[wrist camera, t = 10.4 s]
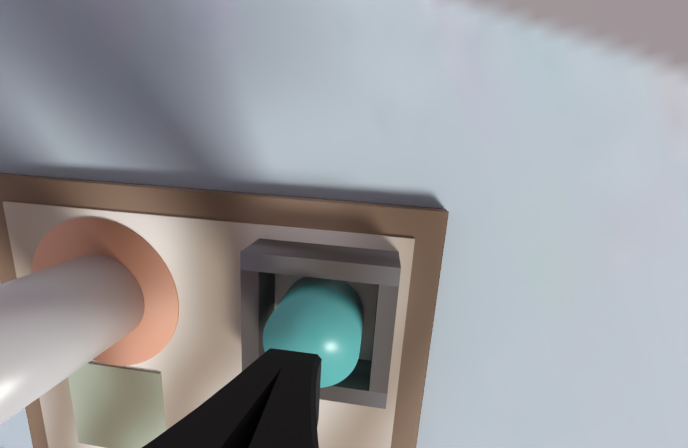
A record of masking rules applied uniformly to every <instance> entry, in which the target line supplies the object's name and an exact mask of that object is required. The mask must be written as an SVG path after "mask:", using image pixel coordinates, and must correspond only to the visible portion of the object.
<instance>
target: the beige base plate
mask: <svg viewBox="0 0 688 448" xmlns="http://www.w3.org/2000/svg"><path fill="white" fill-rule="evenodd" d="M448 213H449V212H448V211H447V210H446V209H439V208H427V207H414V206H402V205H389V204H377V203H364V202H352V201H339V200H327V199H315V198H302V197H290V196H277V195H265V194H252V193H240V192H227V191H215V190H202V189H190V188H177V187H165V186H152V185H140V184H127V183H115V182H103V181H90V180H78V179H65V178H53V177H40V176H28V175H15V174H3V173H0V284H3V283H6V282H8V281H11V280H14V279H17V278H20V277H23V276H26V275H29V274H32V273H35V272H37V271H40V270H43V269H46V268H49V267H52V266H55V265H58V264H61V263H64V262H66V261H69V260H72V259H75V258H78V257H81V256H84V255H89V254H99V255H104V256H108V257H110V258H113V259H115V260H116V261H118V262H120V263H121V264H123V265H124V266H125V267H126V268H127V269H128V270H129V271H130V272H131V273H132V274H133V275H134V277H135V278H136V280H137V281H138V283H139V285H140V287H141V290H142V293H143V297H144V304H145V306H144V314H143V317H142V320H141V322H140V324H139V325H138V326H137V328H136V329H134V330H133V331H132V332H131V333H129V334H128V335H126V336H125V337H124V338H122V339H121V340H119V341H118V342H117V343H115V344H114V345H112V346H111V347H109V348H108V349H107V350H105V351H104V352H102V353H101V354H100V355H98V356H97V357H95V358H94V359H93V360H91V361H90V362H88V363H87V364H85V365H84V366H83V367H81V368H80V369H78V370H77V371H76V372H74V373H73V374H71V375H70V376H69V377H67V378H66V379H64V380H63V381H62V382H60V383H59V384H57V385H56V386H54V387H53V388H52V389H50V390H49V391H47V392H46V393H45V394H43V395H42V396H40V397H39V398H38V399H36V400H35V401H33V402H32V403H30V404H29V405H28V406H26V407H25V409H26V414H27V419H28V424H29V429H30V433H31V438H32V443H33V448H142V447H143V446H145V445H146V444H148V443H149V442H151V441H152V440H154V439H155V438H156V437H158V436H159V435H161V434H162V433H163V432H165V431H166V430H167V429H169V428H170V427H172V426H173V425H174V424H176V423H177V422H178V421H180V420H181V419H182V418H184V417H185V416H187V415H188V414H189V413H191V412H192V411H193V410H195V409H196V408H197V407H199V406H200V405H201V404H202V403H204V402H205V401H206V400H207V399H209V398H210V397H211V396H212V395H214V394H215V393H216V392H217V391H219V390H220V389H221V388H223V387H224V386H225V385H226V384H228V383H229V382H230V381H231V380H232V379H234V378H235V377H236V376H237V375H238V374H240V373H241V372H242V371H243V370H244V369H246V368H247V367H248V366H249V365H250V364H252V363H253V362H254V361H255V360H256V359H258V358H259V357H260V356H261V355H262V354H264V353H265V351H264V347H263V331H264V327H265V325H266V322H267V321H268V319H269V317H270V316H271V314H272V313H273V311H274V310H275V309H276V307H277V306H278V304H279V303H280V301H281V300H282V298H283V297H284V296H285V294H286V293H287V291H288V290H289V288H290V287H291V286H292V285H293V284H294V283H295V282H297V281H298V280H299V279H301V278H303V277H312V278H322V279H331V280H340V281H345V282H346V283H348V284H349V285H350V286H351V287H352V288H353V289H354V290H355V291H356V293H357V294H358V296H359V297H360V299H361V302H362V305H363V309H364V321H363V329H362V337H361V345H360V353H359V358H358V361H357V364H356V366H355V368H354V369H353V371H352V372H351V373H350V374H349V375H348V377H346V378H345V379H344V380H342V381H341V382H339V383H337V384H335V385H332V386H328V387H323V388H320V401H319V420H318V426H317V433H318V444H319V448H416V443H417V436H418V429H419V422H420V414H421V407H422V400H423V393H424V386H425V378H426V371H427V364H428V357H429V350H430V342H431V335H432V328H433V321H434V314H435V306H436V299H437V292H438V285H439V278H440V270H441V263H442V256H443V249H444V242H445V234H446V227H447V220H448Z"/></svg>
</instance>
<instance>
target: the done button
mask: <svg viewBox="0 0 688 448" xmlns="http://www.w3.org/2000/svg"><path fill="white" fill-rule="evenodd" d="M363 321H364V309H363V305H362V302H361V299H360V297H359V296H358V294H357V293H356V291H355V290H354V289H353V288H352V287H351V286H350V285H349V284H348V283H346V282H345V281H340V280H331V279H322V278H312V277H303V278H301V279H299V280H298V281H297V282H295V283H294V284H293V285H292V286H291V287H290V288H289V290H288V291H287V293H286V294H285V296H284V297H283V298H282V300H281V301H280V303H279V304H278V306H277V307H276V309H275V310H274V311H273V313H272V314H271V316H270V317H269V319H268V321H267V322H266V325H265V327H264V331H263V347H264V351H265V352H266V351H267V350H269V349H270V348H273V349H281V350H289V351H297V352H304V353H312V354H318V355H319V357H320V358H321V359H322V362H321V381H320V388H323V387H328V386H332V385H335V384H337V383H339V382H341V381H342V380H344V379H345V378H346V377H348V375H349V374H350V373H351V372H352V371H353V369H354V368H355V366H356V364H357V361H358V358H359V353H360V345H361V337H362V329H363Z"/></svg>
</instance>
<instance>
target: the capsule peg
mask: <svg viewBox="0 0 688 448" xmlns="http://www.w3.org/2000/svg"><path fill="white" fill-rule="evenodd" d="M144 306H145V304H144V297H143V293H142V290H141V287H140V285H139V283H138V281H137V280H136V278H135V277H134V275H133V274H132V273H131V272H130V271H129V270H128V269H127V268H126V267H125V266H124V265H123V264H121V263H120V262H118V261H116V260H115V259H113V258H110V257H108V256H104V255H99V254H89V255H84V256H81V257H78V258H75V259H72V260H69V261H66V262H64V263H61V264H58V265H55V266H52V267H49V268H46V269H43V270H40V271H37V272H35V273H32V274H29V275H26V276H23V277H20V278H17V279H14V280H11V281H8V282H6V283H3V284H0V425H1V424H2V423H4V422H5V421H7V420H8V419H9V418H11V417H12V416H14V415H15V414H16V413H18V412H19V411H21V410H22V409H23V408H25V407H26V406H28V405H29V404H30V403H32V402H33V401H35V400H36V399H38V398H39V397H40V396H42V395H43V394H45V393H46V392H47V391H49V390H50V389H52V388H53V387H54V386H56V385H57V384H59V383H60V382H62V381H63V380H64V379H66V378H67V377H69V376H70V375H71V374H73V373H74V372H76V371H77V370H78V369H80V368H81V367H83V366H84V365H85V364H87V363H88V362H90V361H91V360H93V359H94V358H95V357H97V356H98V355H100V354H101V353H102V352H104V351H105V350H107V349H108V348H109V347H111V346H112V345H114V344H115V343H117V342H118V341H119V340H121V339H122V338H124V337H125V336H126V335H128V334H129V333H131V332H132V331H133V330H134V329H136V328H137V326H138V325H139V324H140V322H141V320H142V317H143V314H144Z"/></svg>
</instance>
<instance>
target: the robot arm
mask: <svg viewBox="0 0 688 448" xmlns="http://www.w3.org/2000/svg"><path fill="white" fill-rule="evenodd" d="M321 362H322V359H321V358H320V357H319V355H318V354H312V353H304V352H297V351H289V350H281V349H273V348H270V349H269V350H267V351H266V352H265V353H264V354H262V355H261V356H260V357H259V358H258V359H256V360H255V361H254V362H253V363H252V364H250V365H249V366H248V367H247V368H246V369H244V370H243V371H242V372H241V373H240V374H238V375H237V376H236V377H235V378H234V379H232V380H231V381H230V382H229V383H228V384H226V385H225V386H224V387H223V388H221V389H220V390H219V391H217V392H216V393H215V394H214V395H212V396H211V397H210V398H209V399H207V400H206V401H205V402H204V403H202V404H201V405H200V406H199V407H197V408H196V409H195V410H193V411H192V412H191V413H189V414H188V415H187V416H185V417H184V418H182V419H181V420H180V421H178V422H177V423H176V424H174V425H173V426H172V427H170V428H169V429H167V430H166V431H165V432H163V433H162V434H161V435H159V436H158V437H156V438H155V439H154V440H152V441H151V442H149V443H148V444H146V445H145V446H143V447H142V448H319V444H318V433H317V426H318V420H319V401H320V381H321Z"/></svg>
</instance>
